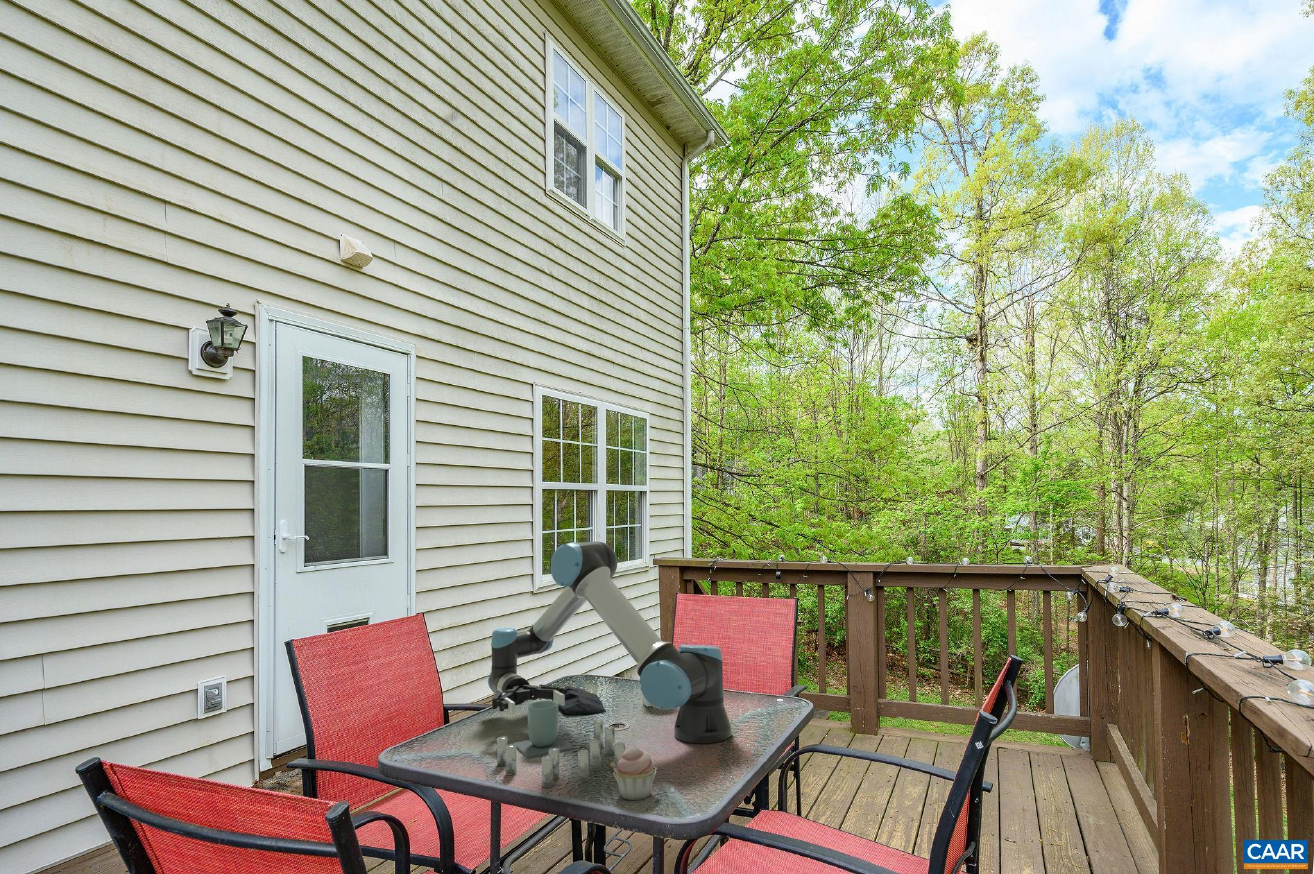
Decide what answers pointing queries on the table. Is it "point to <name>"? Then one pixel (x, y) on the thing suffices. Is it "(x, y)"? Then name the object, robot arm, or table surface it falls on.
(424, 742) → the table surface
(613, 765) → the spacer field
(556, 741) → the slate coaster
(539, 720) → the cup
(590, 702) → the dark slate chunk
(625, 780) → the cupcake
